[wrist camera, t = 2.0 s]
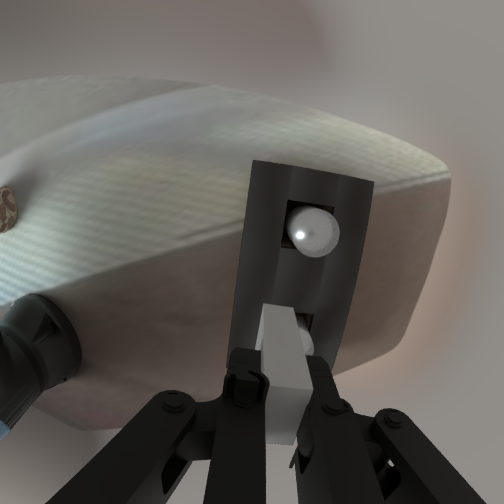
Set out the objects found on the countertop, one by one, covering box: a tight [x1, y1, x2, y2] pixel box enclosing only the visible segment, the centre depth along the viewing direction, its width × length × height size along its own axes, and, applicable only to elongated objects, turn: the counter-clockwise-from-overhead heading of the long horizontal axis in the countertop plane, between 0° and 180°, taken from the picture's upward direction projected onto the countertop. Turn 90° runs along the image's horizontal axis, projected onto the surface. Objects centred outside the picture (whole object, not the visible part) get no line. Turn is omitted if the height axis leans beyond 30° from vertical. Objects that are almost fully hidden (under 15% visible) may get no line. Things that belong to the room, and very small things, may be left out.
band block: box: [226, 160, 374, 372], centre depth 32 cm, size 12×22×6 cm, turn 172°
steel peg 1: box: [285, 205, 340, 257], centre depth 27 cm, size 4×4×6 cm
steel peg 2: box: [295, 312, 314, 356], centre depth 29 cm, size 4×4×6 cm
